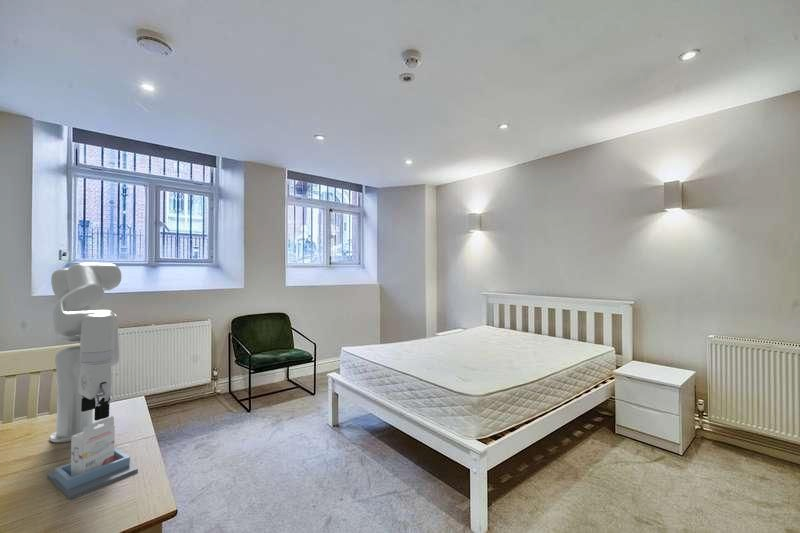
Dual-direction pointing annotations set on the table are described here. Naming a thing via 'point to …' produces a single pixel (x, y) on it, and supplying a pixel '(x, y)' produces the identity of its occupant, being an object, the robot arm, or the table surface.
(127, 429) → the table surface
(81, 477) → the dock
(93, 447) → the ink cartridge box
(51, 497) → the table surface
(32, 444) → the table surface
